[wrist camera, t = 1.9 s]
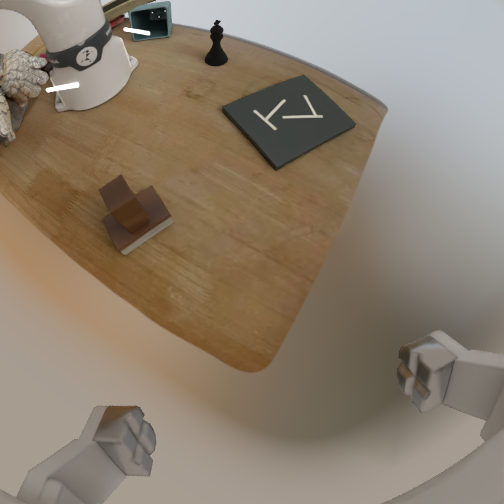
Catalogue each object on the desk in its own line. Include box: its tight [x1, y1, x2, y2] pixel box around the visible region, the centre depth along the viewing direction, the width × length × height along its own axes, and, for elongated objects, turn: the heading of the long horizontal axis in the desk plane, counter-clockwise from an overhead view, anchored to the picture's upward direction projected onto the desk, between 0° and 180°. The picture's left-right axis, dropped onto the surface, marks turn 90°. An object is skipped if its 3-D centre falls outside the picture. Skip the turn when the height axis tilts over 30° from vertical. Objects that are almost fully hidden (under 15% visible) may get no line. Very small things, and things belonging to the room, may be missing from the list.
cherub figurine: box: [0, 50, 49, 147], centre depth 26 cm, size 18×18×18 cm
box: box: [102, 0, 156, 21], centre depth 44 cm, size 8×22×5 cm, turn 122°
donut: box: [32, 44, 49, 63], centre depth 39 cm, size 14×13×5 cm
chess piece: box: [205, 20, 228, 66], centre depth 40 cm, size 4×4×10 cm
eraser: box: [99, 175, 174, 255], centre depth 31 cm, size 5×8×10 cm, turn 128°
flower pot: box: [129, 1, 172, 41], centre depth 43 cm, size 9×9×9 cm
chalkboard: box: [222, 75, 356, 170], centre depth 42 cm, size 14×18×1 cm
